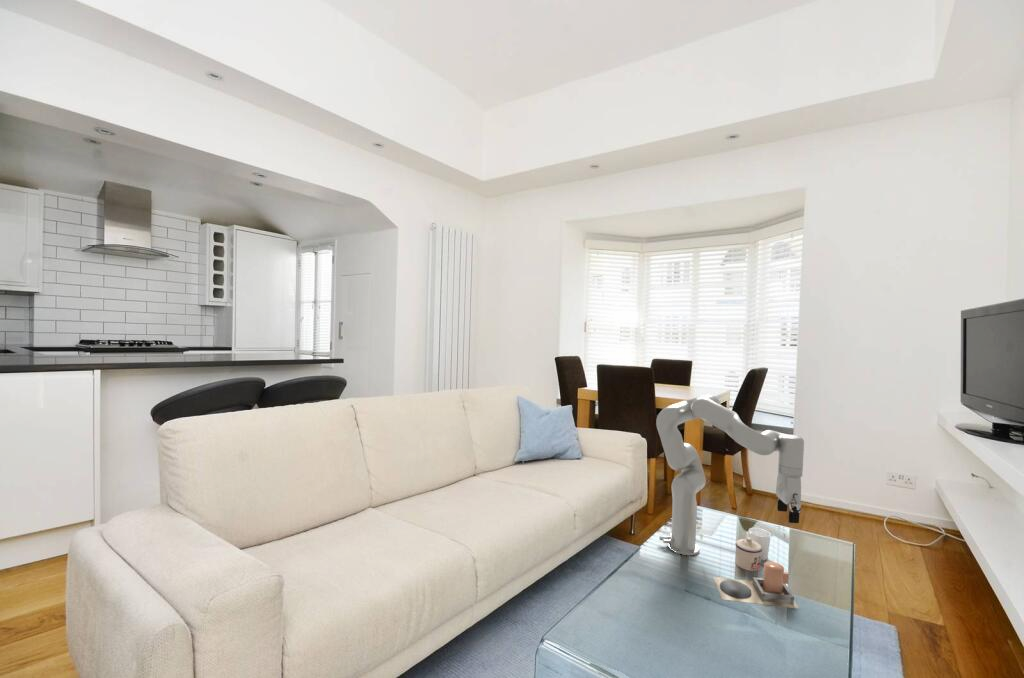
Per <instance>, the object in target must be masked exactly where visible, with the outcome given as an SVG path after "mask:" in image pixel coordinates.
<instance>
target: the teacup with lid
mask: <svg viewBox="0 0 1024 678" xmlns="http://www.w3.org/2000/svg"><path fill="white" fill-rule="evenodd" d="M761 551H762V548H761V546H760V545H759V544H758V543H756V542H754V541H752V539H751V538H749V536H748V537H746V538H741V539H738V540H736V541H735V561H734V562H735V564H736V566H738V567H739V568H741V569H743V570H745V571H746V570H747V571H750V572H754V571H756V572H757V571H759V570H761V561H762V560H761Z"/></svg>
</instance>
